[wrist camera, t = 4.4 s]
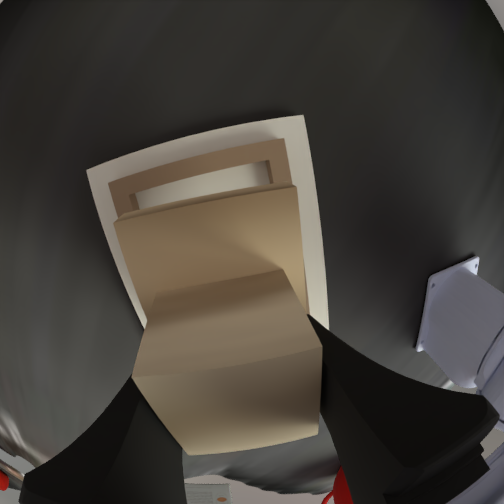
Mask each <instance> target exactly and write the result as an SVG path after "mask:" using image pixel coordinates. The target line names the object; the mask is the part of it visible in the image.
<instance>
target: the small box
mask: <svg viewBox="0 0 504 504" xmlns="http://www.w3.org/2000/svg"><path fill="white" fill-rule="evenodd" d="M184 485H185V492H186V499H187V504H232V497H231V490H230V485H229V484H187V483H184Z"/></svg>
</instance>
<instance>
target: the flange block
mask: <svg viewBox="0 0 504 504" xmlns="http://www.w3.org/2000/svg"><path fill="white" fill-rule="evenodd" d="M113 225H114V228H115V231H116V235H117V238H118V241H119V245H120V248H121V251H122V254H123V257H124V260H125V263H126V266H127V269H128V272H129V274H130V277H131V280H132V283H133V285H134V288H135V291H136V293H137V296H138V299H139V301H140V304H141V306H142V309H143V311H144V314H145V316H146V318H147V323H146V327H145V330H144V333H143V337H142V340H141V344H140V347H139V351H138V354H137V358H136V362H135V365H134V369H133V373H132V379H133V380H134V382H135V384H136V385H137V387H138V388H139V390H140V391H141V393H142V394H143V396H144V397H145V399H146V400H147V402H148V403H149V405H150V406H151V407H152V409H153V410H154V412H155V413H156V414H157V416H158V417H159V419H160V420H161V421H162V423H163V424H164V425H165V427H166V428H167V429H168V430H169V432H170V433H171V434H172V436H173V437H174V438H175V439H176V441H177V442H178V443H179V444H180V445H181V447H182V448H183V449H184V450H185V451H186V453H187V454H188V455H201V454H214V453H224V452H233V451H240V450H247V449H254V448H260V447H265V446H271V445H276V444H281V443H285V442H290V441H294V440H298V439H302V438H306V437H310V436H314V435H317V434H318V425H319V412H320V397H321V376H322V344H321V342H320V340H319V338H318V336H317V334H316V333H315V331H314V329H313V327H312V325H311V323H310V321H309V319H308V317H307V311H306V292H305V275H304V261H303V247H302V235H301V224H300V213H299V203H298V193H297V187H296V186H295V185H293V184H291V183H289V182H288V181H286V182H280V183H273V184H266V185H260V186H254V187H248V188H242V189H236V190H231V191H225V192H220V193H214V194H209V195H204V196H199V197H194V198H189V199H184V200H180V201H175V202H170V203H166V204H161V205H157V206H153V207H148V208H144V209H140V210H136V211H132V212H128V213H124V214H123V215H122V216H120V217H119V218H118V219H117V220H116V221H115V222H114V223H113Z"/></svg>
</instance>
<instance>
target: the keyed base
mask: <svg viewBox="0 0 504 504" xmlns="http://www.w3.org/2000/svg"><path fill="white" fill-rule="evenodd" d="M86 171H87V175H88V179H89V183H90V187H91V190H92V194H93V198H94V201H95V204H96V208H97V211H98V214H99V217H100V221H101V224H102V227H103V230H104V233H105V236H106V238H107V241H108V244H109V247H110V250H111V252H112V255H113V258H114V260H115V263H116V265H117V268H118V271H119V273H120V276H121V278H122V280H123V283H124V285H125V288H126V290H127V292H128V295H129V297H130V299H131V301H132V304H133V306H134V308H135V310H136V312H137V315H138V317H139V319H140V321H141V323H142V325H143V327H144V329H145V327H146V323H147V318H146V316H145V314H144V311H143V309H142V306H141V304H140V301H139V299H138V296H137V293H136V291H135V288H134V285H133V283H132V280H131V277H130V274H129V272H128V269H127V266H126V263H125V260H124V257H123V254H122V251H121V248H120V245H119V241H118V238H117V235H116V231H115V228H114V225H113V223H114V222H115V221H116V220H117V219H118V218H119V217H120V216H122V215H123V214H124V213H128V212H132V211H136V210H140V209H144V208H148V207H153V206H157V205H161V204H166V203H170V202H175V201H180V200H184V199H189V198H194V197H199V196H204V195H209V194H214V193H220V192H225V191H231V190H236V189H242V188H248V187H254V186H260V185H266V184H273V183H280V182H286V181H288V182H289V183H291V184H293V185H295V186H296V187H297V193H298V203H299V213H300V224H301V235H302V247H303V261H304V275H305V292H306V311H307V314H309V315H311V316H312V317H313V318H315V319H316V320H317V321H318V322H319V323H320V324H322V325H323V326H324V327H325V328H326V329H328V330H329V319H328V302H327V287H326V274H325V262H324V252H323V242H322V233H321V224H320V216H319V208H318V200H317V193H316V186H315V179H314V172H313V166H312V160H311V154H310V148H309V142H308V137H307V131H306V126H305V121H304V116H303V115H298V116H290V117H283V118H276V119H269V120H263V121H257V122H251V123H245V124H240V125H235V126H230V127H225V128H221V129H216V130H212V131H207V132H203V133H199V134H195V135H191V136H187V137H183V138H179V139H176V140H172V141H169V142H165V143H162V144H158V145H155V146H152V147H149V148H145V149H142V150H139V151H136V152H133V153H130V154H127V155H125V156H122V157H119V158H116V159H113V160H111V161H108V162H105V163H103V164H100V165H98V166H95V167H93V168H90V169H88V170H86Z"/></svg>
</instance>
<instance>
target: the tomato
mask: <svg viewBox="0 0 504 504" xmlns="http://www.w3.org/2000/svg"><path fill="white" fill-rule="evenodd" d="M8 485H9V478H8V476H7V475H6V474H5V473H3V472H2V471H1V470H0V490H3V491H4V490H6V489H7V488H8Z"/></svg>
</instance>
